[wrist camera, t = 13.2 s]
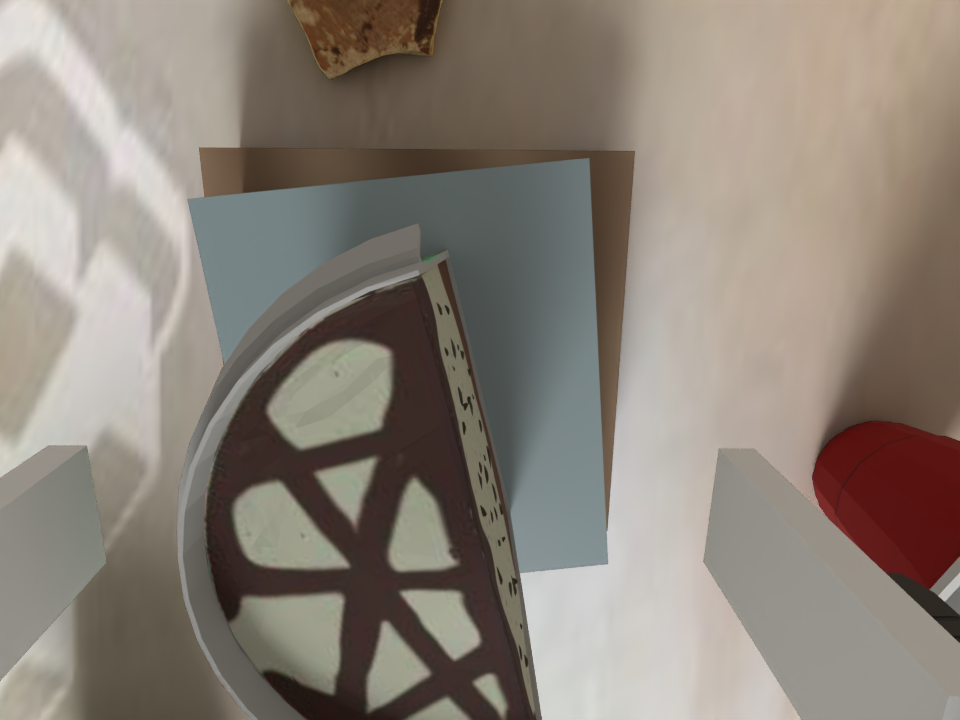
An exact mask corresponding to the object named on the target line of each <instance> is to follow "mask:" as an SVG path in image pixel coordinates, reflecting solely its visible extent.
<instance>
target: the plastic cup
mask: <svg viewBox="0 0 960 720" xmlns="http://www.w3.org/2000/svg"><path fill="white" fill-rule="evenodd" d="M812 480H813V485H814V490H815V495H816V498H817V499H818V503H819V506H820V507H821V509H822V510H823V512H824V513H825V515H826V516H827V517H828V519H829V520H830V521H831V522H832V523H833V524H834V525H835V526H836V527H837V528H839V529H840V530H841V531H842V532H843V533H844V534H845V535H846V536H847V537H848V538H849V539H850V540H851V541H852V542H853V543H854V544H855V545H856V546H858V547H859V548H860V549H861V550H862V551H863V552H864V553H865V554H866V555H867V556H868V557H869V558H870V559H871V560H872V561H873V562H874V563H875V564H877V565H878V566H879V567H880V568H881V569H882V570H883V571H884V572H885V573H901V574H903V575H905V576H906V577H908V578H910V579H912V580H913V581H915V582H917V583H918V584H920V585H922V586H924V587H925V588H927V589H929V590H931V591H932V592H934V593H935V594H937V595H938V596H939V597H940V598H941V599H942V600H943V601H944V602H946V603H947V604H948V605H949V606H950V607H951V608H952V609H953V610H955V611H956V612H957V613H958V614H959V615H960V441H958V440H955V439H952V438H950V437H947V436H937V435H934V434H931V433H928V432H925V431H922V430H919V429H916V428H913V427H910V426H908V425H905V424H900V423H892V422H879V421H869V422H865V423H862V424H859V425H855V426H852V427H849V428H847V429H846V430H844V431H843V432H842V433H840V434H839V435H837V436H836V437H835V438H833V439H832V440H831V441H829V443H828V444H827V446H826V447H825V448H824V450H823V451H822V453H821V454H820V456H819V457H818V458H817V461H816V465H815V469H814V474H813V478H812Z"/></svg>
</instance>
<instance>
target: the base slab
mask: <svg viewBox="0 0 960 720" xmlns="http://www.w3.org/2000/svg"><path fill="white" fill-rule="evenodd" d="M199 152H200V161H201V170H202V179H203V188H204V196H205V197H212V196H221V195H230V194H239V193H249V192H259V191H269V190H278V189H288V188H298V187H308V186H317V185H327V184H337V183H347V182H357V181H366V180H376V179H386V178H396V177H405V176H415V175H425V174H435V173H445V172H454V171H464V170H474V169H484V168H493V167H503V166H513V165H523V164H533V163H542V162H552V161H562V160H573V159H584V158H589V163H590V185H591V207H592V228H593V250H594V272H595V293H596V315H597V337H598V358H599V380H600V402H601V423H602V445H603V467H604V488H605V510H606V531H607V528H608V514H609V501H610V487H611V473H612V459H613V445H614V431H615V418H616V404H617V390H618V376H619V362H620V349H621V335H622V321H623V307H624V293H625V279H626V266H627V252H628V238H629V224H630V210H631V197H632V183H633V169H634V155H635V151H559V150H436V149H313V148H199ZM223 365H224V360H223Z"/></svg>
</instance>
